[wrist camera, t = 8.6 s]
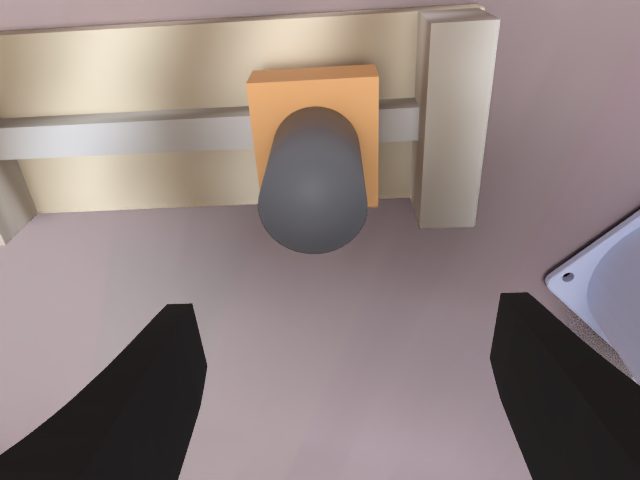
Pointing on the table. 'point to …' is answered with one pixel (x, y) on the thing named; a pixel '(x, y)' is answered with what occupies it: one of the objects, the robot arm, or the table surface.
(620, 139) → the table surface
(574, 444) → the robot arm
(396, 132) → the rail
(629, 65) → the table surface
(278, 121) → the carriage
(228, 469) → the table surface
